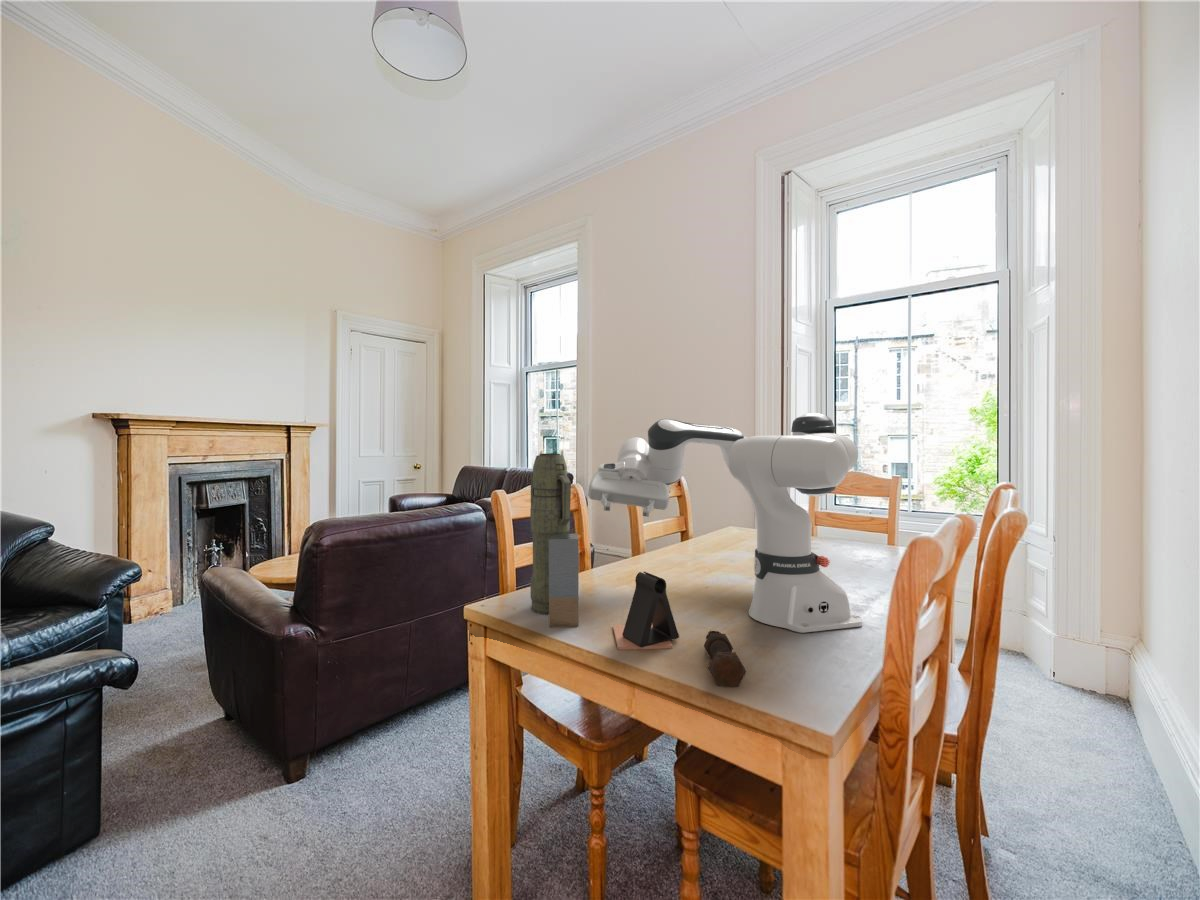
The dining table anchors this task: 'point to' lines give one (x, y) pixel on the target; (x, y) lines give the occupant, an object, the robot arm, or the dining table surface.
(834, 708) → the dining table surface
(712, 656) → the bolt
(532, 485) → the thermos
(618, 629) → the terracotta tile
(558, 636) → the dining table surface
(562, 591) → the rectangular metal block
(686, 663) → the dining table surface
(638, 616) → the black folding stand
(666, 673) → the dining table surface
